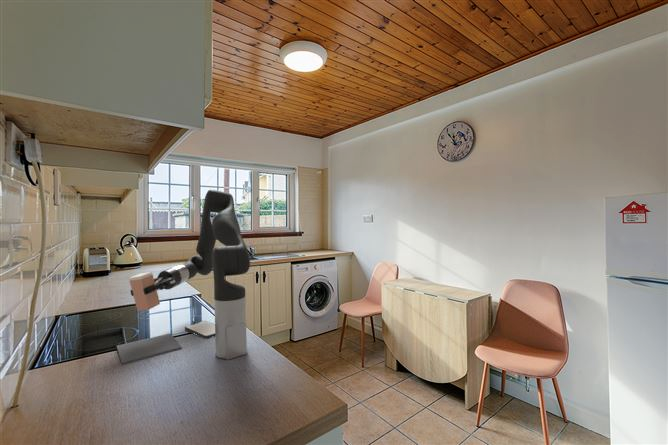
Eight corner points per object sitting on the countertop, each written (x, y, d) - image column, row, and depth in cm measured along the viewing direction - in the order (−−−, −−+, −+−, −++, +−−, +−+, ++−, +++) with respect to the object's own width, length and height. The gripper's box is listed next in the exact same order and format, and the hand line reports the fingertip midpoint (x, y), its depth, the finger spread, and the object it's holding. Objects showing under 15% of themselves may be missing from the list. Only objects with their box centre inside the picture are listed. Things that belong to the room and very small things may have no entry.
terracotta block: (160, 303, 111) (152, 271, 110) (148, 309, 106) (140, 276, 105) (148, 304, 112) (140, 273, 111) (137, 310, 107) (128, 277, 106)
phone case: (228, 333, 114) (205, 324, 124) (228, 329, 114) (205, 320, 124) (205, 341, 107) (183, 330, 117) (205, 336, 107) (183, 326, 117)
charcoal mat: (181, 348, 100) (181, 346, 100) (121, 364, 89) (121, 362, 89) (170, 335, 112) (170, 333, 112) (116, 347, 102) (116, 345, 102)
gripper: (157, 269, 124) (118, 284, 107) (186, 265, 120) (152, 280, 104) (161, 287, 124) (124, 304, 108) (191, 283, 121) (157, 301, 104)
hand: (138, 292), depth 106 cm, fingers closed on terracotta block, 5 cm apart
